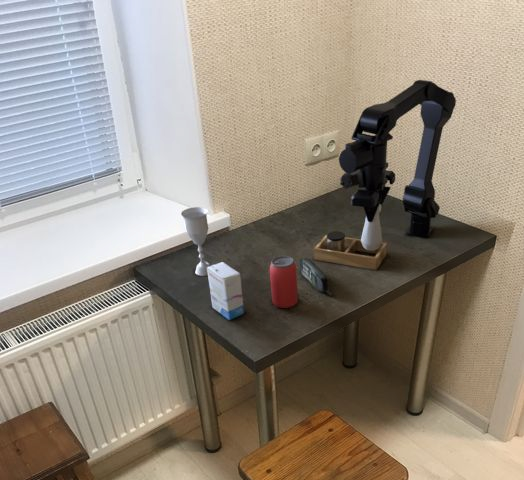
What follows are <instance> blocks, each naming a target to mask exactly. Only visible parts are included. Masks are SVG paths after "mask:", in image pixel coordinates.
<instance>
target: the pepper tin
mask: <svg viewBox="0 0 524 480" xmlns="http://www.w3.org/2000/svg"><path fill="white" fill-rule="evenodd" d="M345 237H346V233H344V232H343V231H340V230H334V231H330V232H328V233H327V248H326V250H333V251H339V252H345V251H346V249H345Z"/></svg>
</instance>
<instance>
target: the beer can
mask: <svg viewBox="0 0 524 480" xmlns="http://www.w3.org/2000/svg"><path fill="white" fill-rule="evenodd" d="M270 261H271V262H270V266H269V277H270V289H271V290H270V291H271V301H272V304H273V306H275V307H277V308H281V309H288V308H292V307H293V306H295V305H296V304H297V303H298V301H299V300H298V299H299V297H298V296H299V295H298V277H297V276H298V275H297V266H296V265H297V264H296V263H295V260H294V258H293V257H291V256H288V255H279V256H275V257H273V258H272V259H271V260H270Z"/></svg>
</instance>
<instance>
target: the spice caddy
mask: <svg viewBox="0 0 524 480" xmlns="http://www.w3.org/2000/svg"><path fill="white" fill-rule="evenodd" d="M327 234H328V233H327ZM327 234H325V235H324V236H323V238H322V239H321V240H320V241H319V243H318V244H317V245H316V246H315V247H314V248H313V260H315V261H320V262H326V263H332V264H338V265H344V266H350V267H355V268H363V269H368V270H375V271H376V270H378V268H379V266H380V265H381V264H382V262H383V261H384V259H385V258H386V256H387V253H388V243H387V242H384V241H382V243H381V245H380V246H379V248H378V249H376V250H374V251H371V250H366V249H365V248H364V247H363V245H362V243H361V238H354V237H347V236H345V252H339V251H333V250H327ZM357 252H361V253H368V254H375V256H370V255H364V254H358V253H357Z"/></svg>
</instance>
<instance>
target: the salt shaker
mask: <svg viewBox="0 0 524 480" xmlns="http://www.w3.org/2000/svg"><path fill="white" fill-rule="evenodd" d="M381 212H382V206H381V204H379V207H378V209H377V212H376V214H375V217H374V219H373V221H372V222H368V220H367V217H366V216H365V219H364V225H363V228H362V234H361V237H360V239H361V243H362V245H363V247H364V248H365V249H366V250H371V251H374V250H376V249H378V248H379V246H380V245H381V243H382V242H383V234H382V228H381V227H382V226H381V221H380V213H381Z"/></svg>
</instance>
